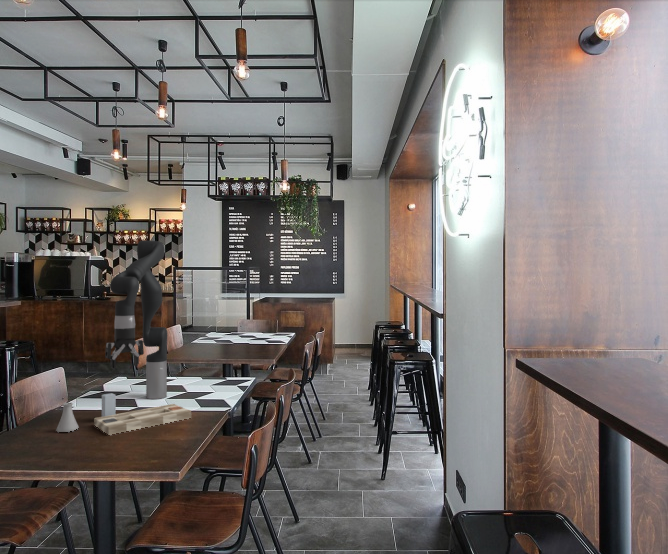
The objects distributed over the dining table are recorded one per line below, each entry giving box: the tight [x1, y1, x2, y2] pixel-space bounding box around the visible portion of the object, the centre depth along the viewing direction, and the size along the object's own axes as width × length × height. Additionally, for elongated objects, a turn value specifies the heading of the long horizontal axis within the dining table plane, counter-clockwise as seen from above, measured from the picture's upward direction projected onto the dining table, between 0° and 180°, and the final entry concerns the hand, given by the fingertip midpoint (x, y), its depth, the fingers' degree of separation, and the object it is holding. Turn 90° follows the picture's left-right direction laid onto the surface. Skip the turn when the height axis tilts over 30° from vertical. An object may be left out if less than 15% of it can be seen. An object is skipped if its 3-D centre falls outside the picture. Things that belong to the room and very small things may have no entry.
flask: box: [55, 402, 80, 433], centre depth 184 cm, size 7×7×10 cm
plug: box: [101, 392, 117, 417], centre depth 198 cm, size 4×4×10 cm
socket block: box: [93, 403, 192, 436], centre depth 194 cm, size 16×32×3 cm, turn 133°
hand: (124, 367), depth 197 cm, fingers open, 8 cm apart
